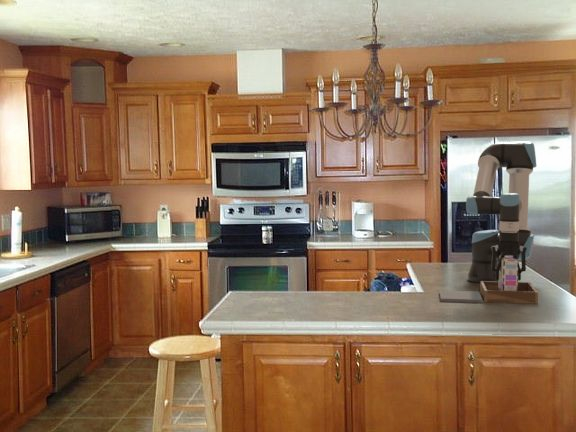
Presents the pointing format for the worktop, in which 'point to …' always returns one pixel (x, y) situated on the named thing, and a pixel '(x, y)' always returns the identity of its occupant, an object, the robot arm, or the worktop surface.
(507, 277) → the candy box
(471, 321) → the worktop surface
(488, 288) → the crate
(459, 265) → the worktop surface
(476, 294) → the plate
